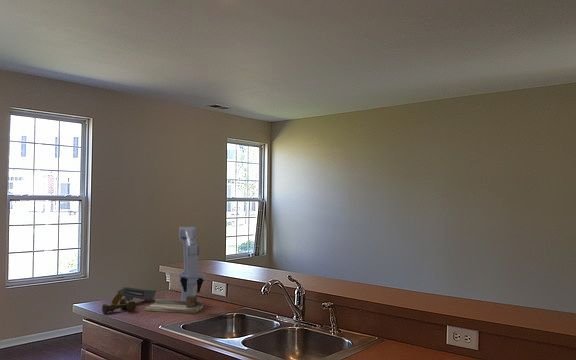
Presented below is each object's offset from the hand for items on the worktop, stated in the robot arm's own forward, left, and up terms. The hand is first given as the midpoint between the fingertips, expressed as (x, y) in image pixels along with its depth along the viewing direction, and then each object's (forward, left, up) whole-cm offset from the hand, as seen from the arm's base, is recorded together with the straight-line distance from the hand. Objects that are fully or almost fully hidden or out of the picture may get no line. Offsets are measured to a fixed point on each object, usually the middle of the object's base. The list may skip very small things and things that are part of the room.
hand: (191, 292), depth 268 cm
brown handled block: (+3, 0, -8) cm, 8 cm away
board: (+2, -9, -9) cm, 13 cm away
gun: (-8, -38, -10) cm, 40 cm away
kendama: (+12, -35, -10) cm, 38 cm away
